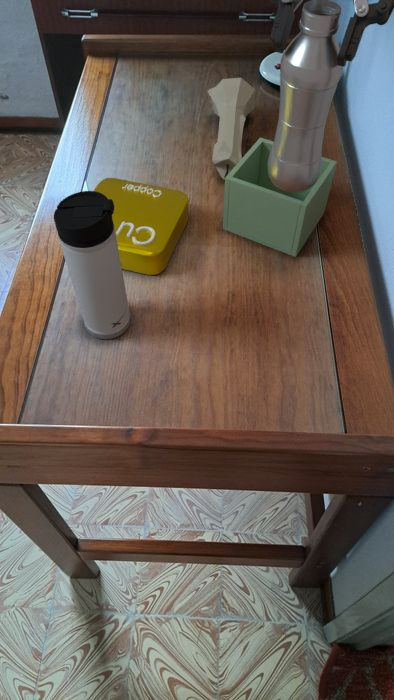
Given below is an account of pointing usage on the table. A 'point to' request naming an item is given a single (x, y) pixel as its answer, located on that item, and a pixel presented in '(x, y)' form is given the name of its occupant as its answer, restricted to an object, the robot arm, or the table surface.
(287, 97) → the silver metal bottle
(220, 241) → the table surface
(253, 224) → the caddy
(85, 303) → the travel mug
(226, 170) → the faceted club
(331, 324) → the table surface
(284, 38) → the robot arm
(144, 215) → the element tile
